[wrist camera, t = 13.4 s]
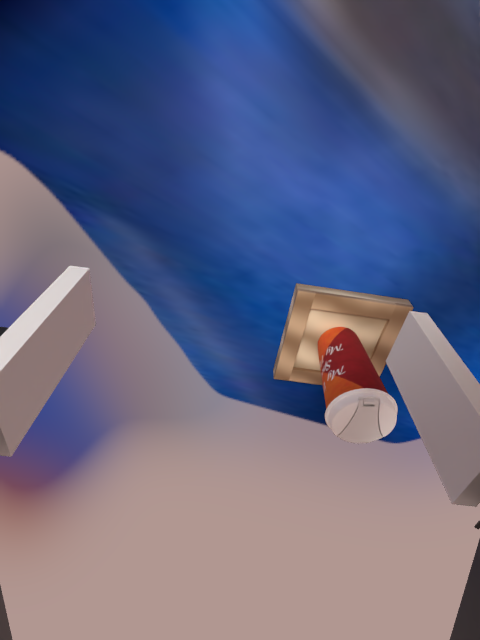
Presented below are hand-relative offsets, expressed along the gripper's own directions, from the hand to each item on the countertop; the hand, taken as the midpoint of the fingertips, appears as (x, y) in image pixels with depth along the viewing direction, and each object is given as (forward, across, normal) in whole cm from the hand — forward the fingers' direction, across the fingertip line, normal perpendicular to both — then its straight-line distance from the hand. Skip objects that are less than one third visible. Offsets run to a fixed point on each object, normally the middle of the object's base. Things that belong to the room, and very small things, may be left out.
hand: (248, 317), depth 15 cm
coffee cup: (+30, +16, -22) cm, 41 cm away
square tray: (+31, +16, -22) cm, 42 cm away
